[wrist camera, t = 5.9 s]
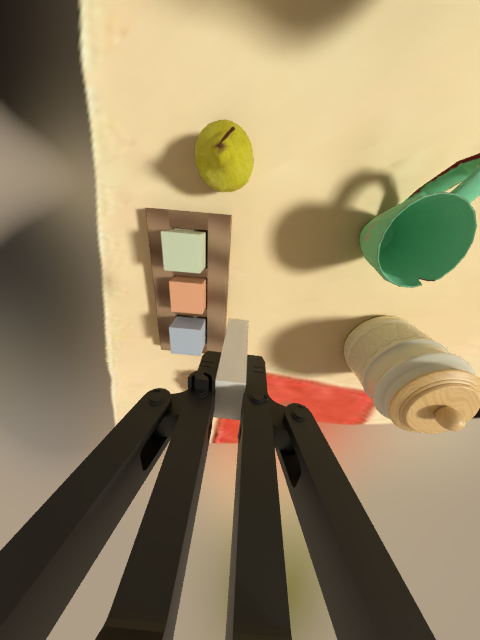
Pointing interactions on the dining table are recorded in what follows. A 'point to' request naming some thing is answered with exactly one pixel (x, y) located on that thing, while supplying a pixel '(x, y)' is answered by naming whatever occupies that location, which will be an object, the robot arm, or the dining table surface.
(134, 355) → the dining table surface
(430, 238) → the mug
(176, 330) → the button slate
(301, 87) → the dining table surface
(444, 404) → the jar
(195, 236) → the button sage
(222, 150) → the fruit
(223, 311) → the button board
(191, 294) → the button terracotta
